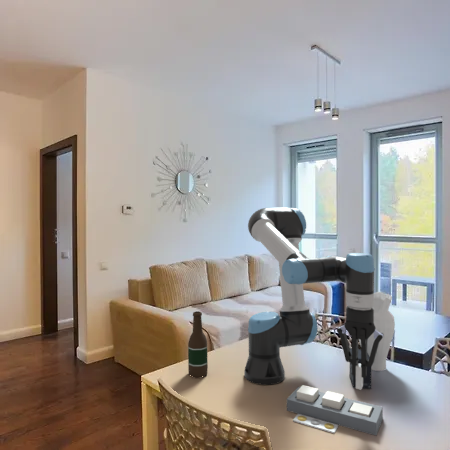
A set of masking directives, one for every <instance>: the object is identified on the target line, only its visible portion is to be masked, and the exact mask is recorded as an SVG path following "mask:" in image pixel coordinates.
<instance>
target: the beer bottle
mask: <svg viewBox="0 0 450 450" xmlns="http://www.w3.org/2000/svg"><path fill="white" fill-rule="evenodd" d="M202 313H203V312H201V311H199V310H198V311H193V312H192V318H193V319H192V333H191V335H189V339H188V343H187V345H188V346H187V353H188V354H187V355H188V359H187V360H188V367H187V368H188V376H189V375H191V376H193V377H202V376H204V377H206V376H207V375H208V369H209V368H208V364H209V363H208V360H209V359H208V339H207V336H206V334H205V333H204V332H203V322H202V319H203V318H202V315H203V314H202ZM205 375H206V376H205ZM191 376H190V377H191ZM193 377H192V378H193ZM202 378H203V377H202Z"/></svg>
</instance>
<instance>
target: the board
mask: <svg viewBox="0 0 450 450" xmlns="http://www.w3.org/2000/svg"><path fill="white" fill-rule="evenodd" d="M300 387H301V386H297V388H296V389H295V390H294V391H293V392H292V393H291V394H290V395H289V396H288V397H287V398H286V411H288V412H290V413H295V414H297V415H298V414H301V415H304V416H308V417H311V418H315V419H318V420H322V421H325V422H329V423H333V424H336V425H338V426H342V427H343V428H344V427H345V428H348V429H351V430H355V431H359V432H363V433H365V434H370V435H373V436H377V435H378V432H379V429H380V427H381V424H382V421H383V418H384V417H383V413H384V412H383V406H381V405H376V404H372V403H368V402H364V401H359V400H356V399H352V398H348V397H344V404H343V406H342V407H341V409H340V410H339V409H335V408H331V407H327V406H323V405H322V397H323V396H324V395H325V393H326V392H323V391H319V396H318V398H317V399H316V400H315V402H314V403H312V402H308V401H304V400H300V399H297V391H298V390H299V388H300ZM354 402H355V403H359V404H363V405H367V406H371V407H372V415H371V417H370V418H369V417H366V416H362V415H358V414H354V413H350V408H351V407H352V405H353V403H354Z"/></svg>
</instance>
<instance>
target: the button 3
mask: <svg viewBox="0 0 450 450" xmlns="http://www.w3.org/2000/svg"><path fill="white" fill-rule="evenodd" d="M350 413H354V414H358V415H362V416H366V417H369V418H370V417H371V415H372V407H371V406H367V405H363V404H359V403H355V402H354V403H353V405H352V407H351V408H350Z"/></svg>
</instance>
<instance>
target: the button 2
mask: <svg viewBox="0 0 450 450" xmlns="http://www.w3.org/2000/svg"><path fill="white" fill-rule="evenodd" d="M324 393H325V395H324V396H323V397H322V405H323V406H327V407H331V408H335V409H339V410H340V409H341V407H342V406H343V404H344V398H345V394H342V393H340V392H339V393H338V392H334V391H330V390H327V391H326V392H324Z"/></svg>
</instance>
